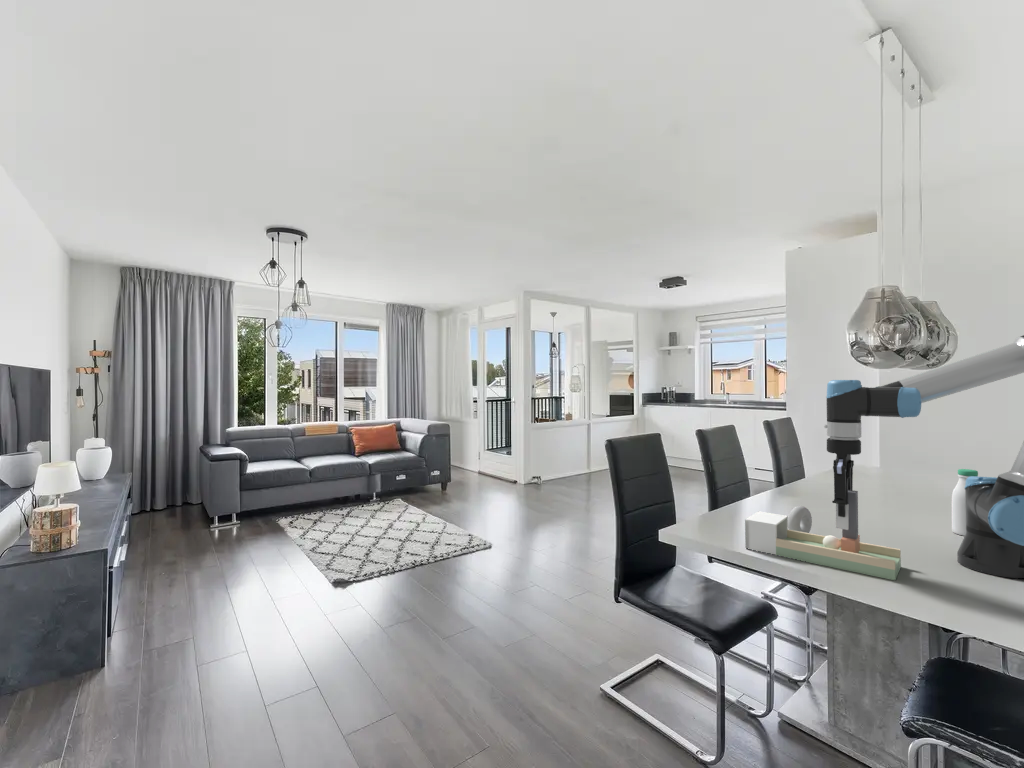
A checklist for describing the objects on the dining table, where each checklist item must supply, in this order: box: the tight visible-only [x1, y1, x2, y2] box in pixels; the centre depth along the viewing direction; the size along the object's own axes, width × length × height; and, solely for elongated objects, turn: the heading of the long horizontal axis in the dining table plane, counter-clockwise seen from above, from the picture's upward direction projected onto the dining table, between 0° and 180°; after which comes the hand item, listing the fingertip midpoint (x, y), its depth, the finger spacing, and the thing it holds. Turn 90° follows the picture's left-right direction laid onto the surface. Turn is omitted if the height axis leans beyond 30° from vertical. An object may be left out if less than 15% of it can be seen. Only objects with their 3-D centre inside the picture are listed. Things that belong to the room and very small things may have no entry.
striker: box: [840, 490, 861, 553], centre depth 128 cm, size 3×7×16 cm, turn 136°
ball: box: [823, 535, 841, 550], centre depth 131 cm, size 4×4×4 cm
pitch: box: [744, 510, 902, 581], centre depth 133 cm, size 34×12×8 cm, turn 46°
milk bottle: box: [951, 468, 979, 537], centre depth 152 cm, size 8×8×20 cm
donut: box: [788, 505, 813, 533], centre depth 150 cm, size 10×3×10 cm, turn 122°
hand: (843, 526), depth 129 cm, fingers closed on striker, 3 cm apart
